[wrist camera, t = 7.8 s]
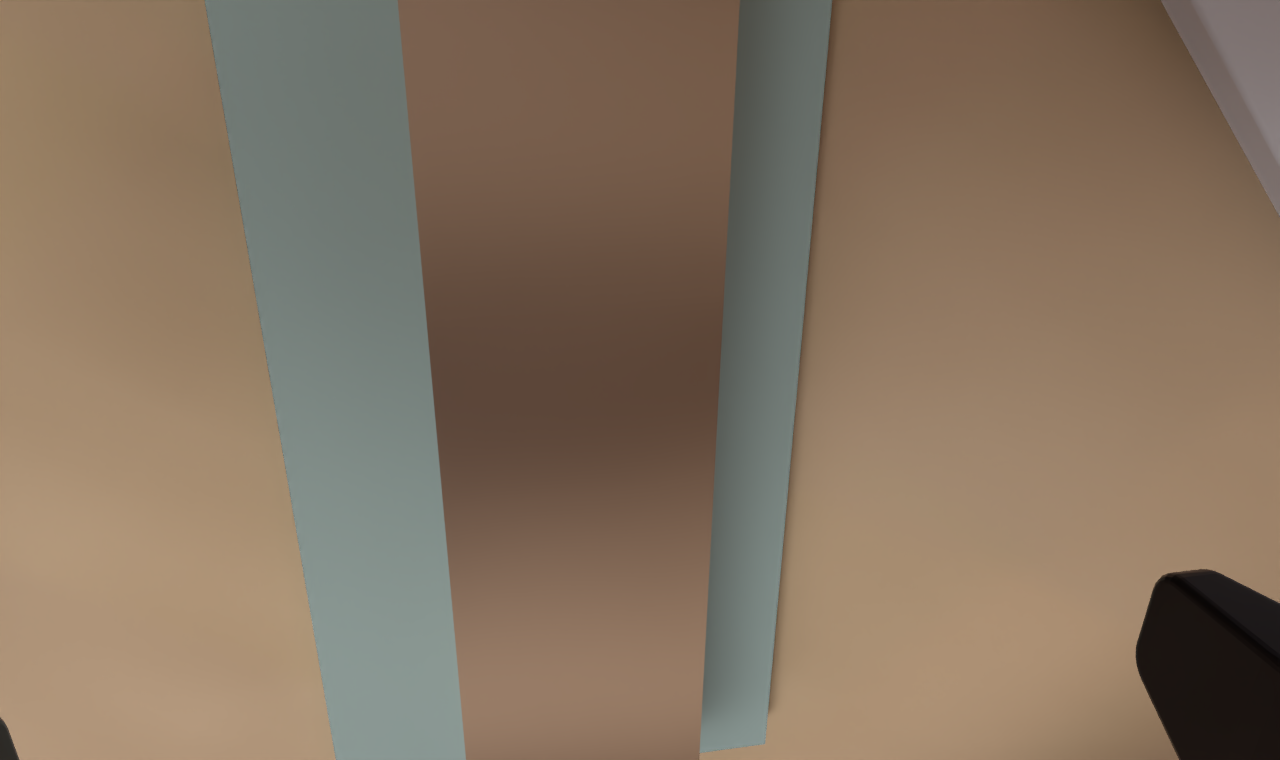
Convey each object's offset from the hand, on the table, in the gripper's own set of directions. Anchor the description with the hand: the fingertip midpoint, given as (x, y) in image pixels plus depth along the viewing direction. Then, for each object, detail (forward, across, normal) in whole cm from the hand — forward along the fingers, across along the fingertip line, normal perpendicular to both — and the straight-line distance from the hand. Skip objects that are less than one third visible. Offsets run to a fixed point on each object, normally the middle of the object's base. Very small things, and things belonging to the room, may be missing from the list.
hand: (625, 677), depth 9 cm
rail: (+7, 0, 0) cm, 7 cm away
